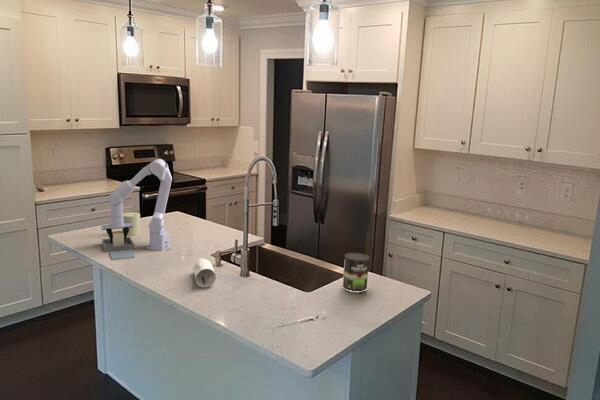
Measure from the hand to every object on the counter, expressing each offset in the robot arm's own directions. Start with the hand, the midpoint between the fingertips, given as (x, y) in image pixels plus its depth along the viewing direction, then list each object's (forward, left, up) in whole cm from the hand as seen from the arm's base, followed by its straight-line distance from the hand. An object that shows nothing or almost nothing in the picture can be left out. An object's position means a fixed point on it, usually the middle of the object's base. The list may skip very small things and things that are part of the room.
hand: (117, 243), depth 233 cm
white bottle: (-58, +13, -3) cm, 60 cm away
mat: (-11, +9, -2) cm, 14 cm away
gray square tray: (0, 0, -2) cm, 2 cm away
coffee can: (-117, -12, -3) cm, 118 cm away
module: (0, 0, -2) cm, 2 cm away
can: (+10, -19, -3) cm, 22 cm away
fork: (-110, +26, -3) cm, 113 cm away
